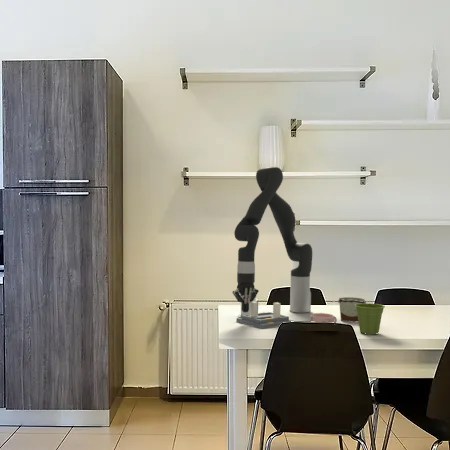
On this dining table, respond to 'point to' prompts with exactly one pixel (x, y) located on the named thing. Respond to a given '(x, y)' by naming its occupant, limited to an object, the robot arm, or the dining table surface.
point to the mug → (323, 317)
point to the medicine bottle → (249, 307)
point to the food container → (349, 308)
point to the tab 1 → (253, 309)
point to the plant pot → (369, 317)
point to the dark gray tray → (263, 320)
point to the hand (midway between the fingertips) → (245, 311)
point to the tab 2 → (276, 310)
